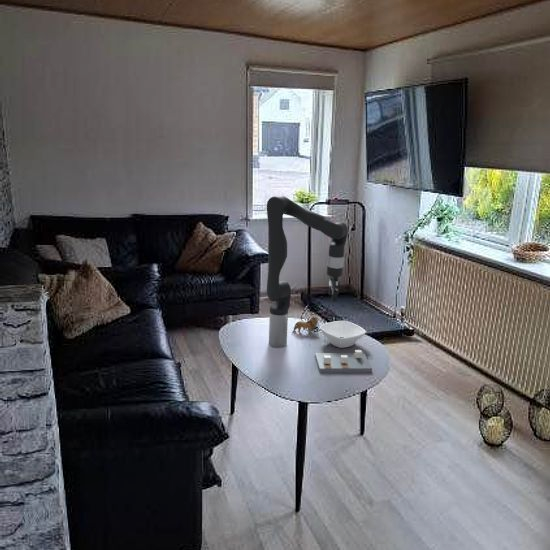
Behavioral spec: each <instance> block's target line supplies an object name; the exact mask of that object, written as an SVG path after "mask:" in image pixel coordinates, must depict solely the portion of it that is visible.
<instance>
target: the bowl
mask: <svg viewBox="0 0 550 550" xmlns="http://www.w3.org/2000/svg"><path fill="white" fill-rule="evenodd" d="M319 330H320V331H321V333H322V335H324V336H325V337H326V338H327V339H326V340H327V341H328V342H329V343H330V344H331V345H333V346H335V347H337V348H339V349H344V348H350V347H352V346H354V345H355V343H357V342H358V340H360V339H362V338H363V337H364V336H365V334H367V330H365V328H363V327H361V326H359V325H358V324H356V323H353V322H351V321H347V320H336V321H329V322H326V323H323V324H321V325H319ZM340 337H344V338H340Z"/></svg>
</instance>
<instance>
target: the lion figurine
mask: <svg viewBox="0 0 550 550" xmlns="http://www.w3.org/2000/svg"><path fill="white" fill-rule="evenodd" d="M318 323H319V319H318V317H317V316H315V315H314V316H311V318H310V319H309V320H307V321H302V320H301V321H299V320H298V321H297V322H296V323H295V324H294V327H293V329H292V330H293V331H292V332H291V334H294V333H298V334H299V335H300V336H301V335H302V334H303V333H302V332H301V329H305V330H306V329H307V332H308V333H310V335H313V329H315V328H316V326H317V325H318ZM297 329H298V330H297ZM296 330H297V331H296Z"/></svg>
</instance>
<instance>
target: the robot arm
mask: <svg viewBox="0 0 550 550" xmlns="http://www.w3.org/2000/svg"><path fill="white" fill-rule="evenodd" d="M266 202H267V203H266V215H267V225H268V226H267V227H268V229H267V230H268V235H267V236H268V240H267V241H268V243H267V244H268V246H267V249H268V265H267V270H268V271H267V280H266V283H267V284H266V295H267V297H268V299H269V300H270V302H273V304H272V305H270V307H269V323H268V324H269V326H268V328H269V329H268V345H269V346H270V347H273V348H284V347H286V346H287V344H288V321H289V310H290V307H291V296H292V290H291V286H290V283H289V282H288V281H286V280H280V275H281V272H282V270H283V267H284V265H285V263H286V260H287V257H288V241H287V236H286V234H285V231H284V226H283V225H284V224H283V222H284V221H283V217H284V215H285V216H290V217H293V218H295V219H297V220H299V221H300V222H301V223H303V224H304V225H306V226H308V227H310V228H312V229H314V230H317V231H319V232H320V233H322V234H324V235H326V236H327V237H329V238H330V239H332V240H331V242H330V244H329V246H328V247H329V248H328V258H327V263H326V265H327V266H326V275H327V276H328V282H327V284H328V295H329V296H331V301H332V302H337V300H338V295H339V294H340V283H341V282H340V279H339V277H342V276H343V274H344V263H345V259H344V258H345V257H344V256H345V245H346V242H347V239H348V233H349V230H348V226H347V224H346V223H345V222H343V221H338V222H332V221H331V220H329V218H328V217H326V216H324V215H321V214H320V213H317V212H315V211H313V210H311V209H308V208H305V207H303V206H301V205H300V204H298V203H296V202H294V201H293V200H292V199H290V198H288V197H287V196H284V195H283V194H282V195H281V194H280V195H274V196H271V197H269V198H268V200H267V201H266Z"/></svg>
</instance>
